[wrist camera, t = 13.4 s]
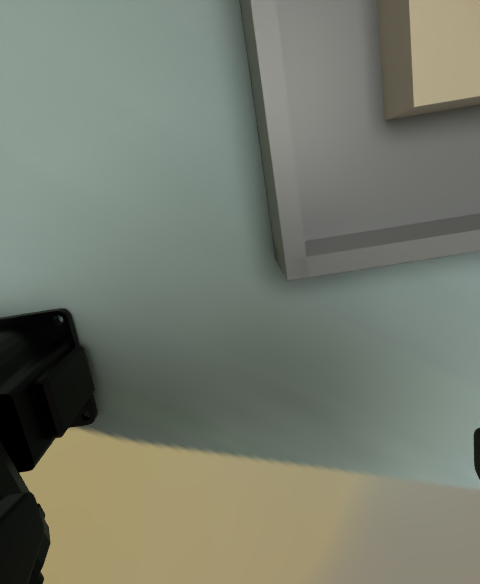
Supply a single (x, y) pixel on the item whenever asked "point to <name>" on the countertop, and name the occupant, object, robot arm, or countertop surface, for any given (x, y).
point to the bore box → (367, 129)
